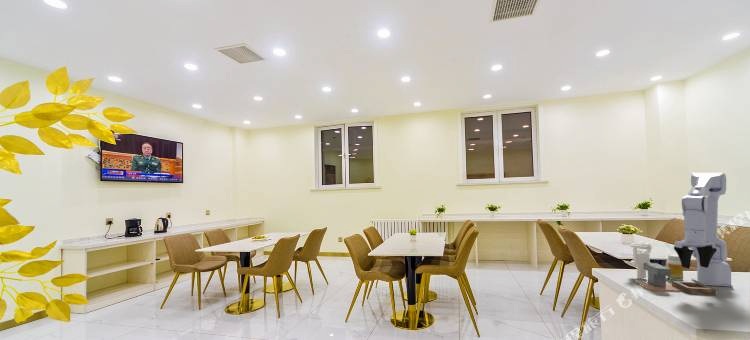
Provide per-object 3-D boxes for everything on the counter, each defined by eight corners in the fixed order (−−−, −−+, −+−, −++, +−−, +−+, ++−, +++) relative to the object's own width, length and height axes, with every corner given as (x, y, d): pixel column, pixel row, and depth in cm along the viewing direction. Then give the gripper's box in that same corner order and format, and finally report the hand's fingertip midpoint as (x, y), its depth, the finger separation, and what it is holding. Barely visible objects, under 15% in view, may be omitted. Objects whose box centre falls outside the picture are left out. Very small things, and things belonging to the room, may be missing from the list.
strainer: (643, 281, 144) (642, 244, 144) (626, 276, 151) (626, 241, 151) (656, 280, 145) (656, 243, 146) (640, 275, 152) (639, 240, 153)
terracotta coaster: (663, 283, 140) (663, 282, 140) (680, 291, 131) (680, 290, 131) (635, 282, 142) (635, 280, 142) (649, 290, 132) (649, 288, 132)
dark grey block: (670, 289, 132) (670, 269, 132) (657, 288, 132) (657, 268, 133) (656, 282, 140) (656, 263, 141) (643, 281, 141) (643, 262, 141)
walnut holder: (698, 287, 136) (698, 282, 136) (716, 295, 127) (716, 289, 127) (671, 286, 138) (671, 280, 138) (687, 293, 129) (687, 287, 129)
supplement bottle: (686, 281, 144) (686, 257, 145) (671, 280, 146) (670, 256, 146) (677, 277, 150) (677, 254, 150) (663, 276, 151) (663, 253, 151)
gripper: (700, 227, 132) (700, 264, 132) (666, 228, 130) (666, 265, 130) (721, 230, 125) (721, 268, 125) (685, 230, 123) (686, 270, 123)
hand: (695, 267), depth 127 cm, fingers open, 7 cm apart
